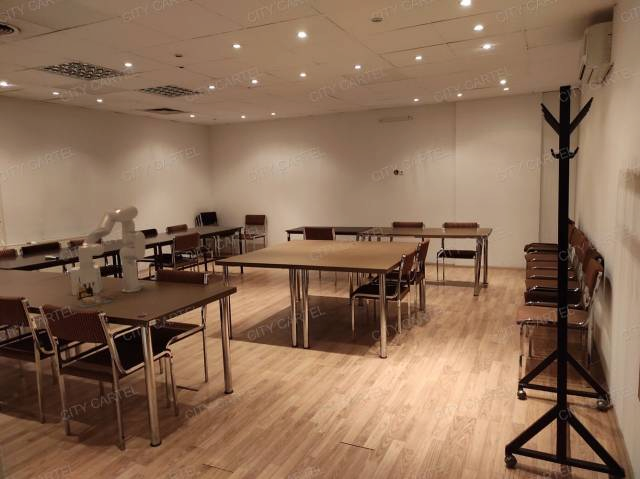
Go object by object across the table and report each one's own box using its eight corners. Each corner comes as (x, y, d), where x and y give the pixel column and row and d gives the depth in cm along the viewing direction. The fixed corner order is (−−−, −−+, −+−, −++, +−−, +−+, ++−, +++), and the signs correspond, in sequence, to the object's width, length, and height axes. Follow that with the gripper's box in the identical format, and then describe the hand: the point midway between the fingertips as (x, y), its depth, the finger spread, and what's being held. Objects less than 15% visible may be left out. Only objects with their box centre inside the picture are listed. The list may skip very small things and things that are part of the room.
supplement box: (102, 289, 334) (100, 264, 332) (99, 293, 322) (97, 267, 319) (75, 291, 329) (73, 266, 327) (72, 295, 316) (69, 269, 314)
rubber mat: (102, 299, 304) (101, 298, 304) (111, 302, 295) (111, 301, 295) (73, 304, 291) (73, 303, 291) (82, 308, 282) (82, 307, 282)
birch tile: (95, 295, 297) (82, 298, 291) (100, 297, 293) (87, 299, 287) (95, 300, 298) (83, 303, 292) (100, 302, 293) (87, 304, 287)
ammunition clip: (79, 299, 304) (77, 282, 302) (77, 299, 305) (75, 281, 303) (93, 296, 313) (92, 278, 312) (91, 295, 314) (90, 278, 313)
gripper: (95, 262, 297) (98, 290, 299) (71, 266, 286) (74, 295, 288) (101, 263, 292) (103, 292, 295) (76, 267, 281) (79, 297, 283)
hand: (89, 293), depth 291 cm, fingers closed
